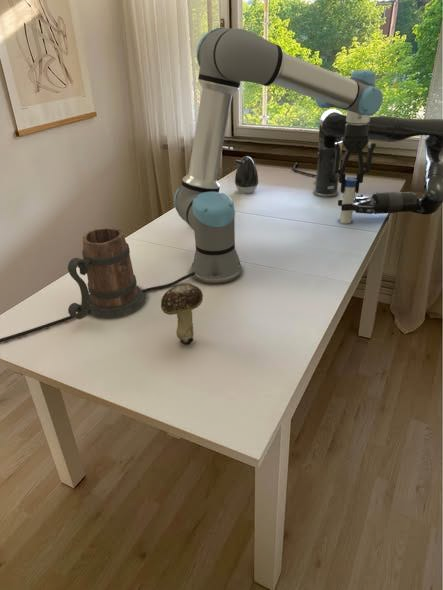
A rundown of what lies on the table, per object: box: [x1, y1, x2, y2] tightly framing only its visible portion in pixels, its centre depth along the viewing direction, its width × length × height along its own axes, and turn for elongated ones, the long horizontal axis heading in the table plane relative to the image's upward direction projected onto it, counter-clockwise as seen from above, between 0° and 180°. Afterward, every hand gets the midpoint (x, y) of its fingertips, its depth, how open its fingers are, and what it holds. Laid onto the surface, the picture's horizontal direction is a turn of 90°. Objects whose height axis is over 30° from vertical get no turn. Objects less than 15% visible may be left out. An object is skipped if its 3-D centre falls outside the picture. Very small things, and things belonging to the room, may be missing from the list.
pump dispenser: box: [234, 155, 259, 194], centre depth 191 cm, size 10×10×15 cm
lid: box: [344, 176, 357, 187], centre depth 156 cm, size 4×4×2 cm
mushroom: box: [160, 282, 204, 346], centre depth 103 cm, size 9×9×15 cm
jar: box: [339, 186, 356, 225], centre depth 160 cm, size 4×4×15 cm
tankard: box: [67, 227, 147, 320], centre depth 116 cm, size 24×17×20 cm
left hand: (349, 191), depth 158 cm, fingers closed on lid, 4 cm apart
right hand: (340, 205), depth 161 cm, fingers closed on jar, 4 cm apart
